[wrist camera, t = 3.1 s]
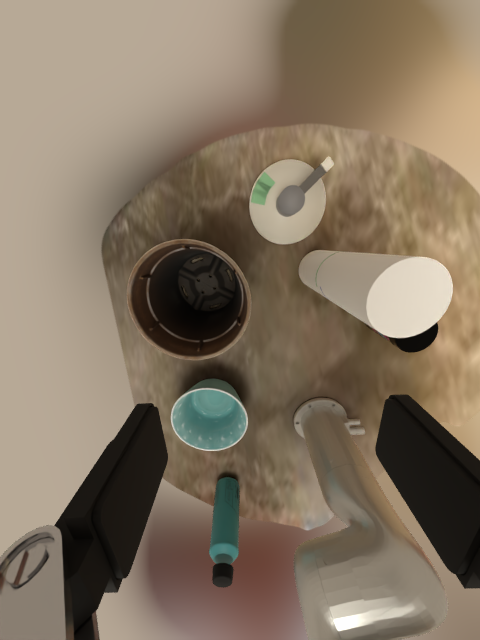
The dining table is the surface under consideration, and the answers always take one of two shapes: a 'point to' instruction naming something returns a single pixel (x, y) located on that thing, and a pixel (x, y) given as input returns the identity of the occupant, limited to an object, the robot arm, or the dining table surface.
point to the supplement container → (413, 339)
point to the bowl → (209, 416)
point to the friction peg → (300, 191)
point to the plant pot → (188, 299)
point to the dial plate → (266, 197)
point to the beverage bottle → (225, 530)
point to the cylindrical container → (381, 288)
